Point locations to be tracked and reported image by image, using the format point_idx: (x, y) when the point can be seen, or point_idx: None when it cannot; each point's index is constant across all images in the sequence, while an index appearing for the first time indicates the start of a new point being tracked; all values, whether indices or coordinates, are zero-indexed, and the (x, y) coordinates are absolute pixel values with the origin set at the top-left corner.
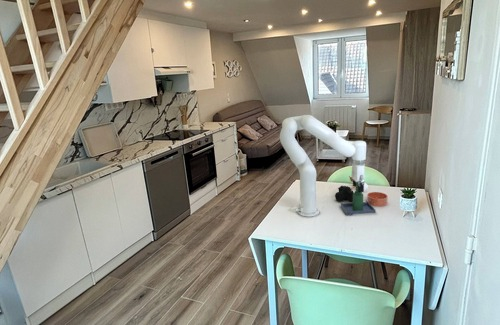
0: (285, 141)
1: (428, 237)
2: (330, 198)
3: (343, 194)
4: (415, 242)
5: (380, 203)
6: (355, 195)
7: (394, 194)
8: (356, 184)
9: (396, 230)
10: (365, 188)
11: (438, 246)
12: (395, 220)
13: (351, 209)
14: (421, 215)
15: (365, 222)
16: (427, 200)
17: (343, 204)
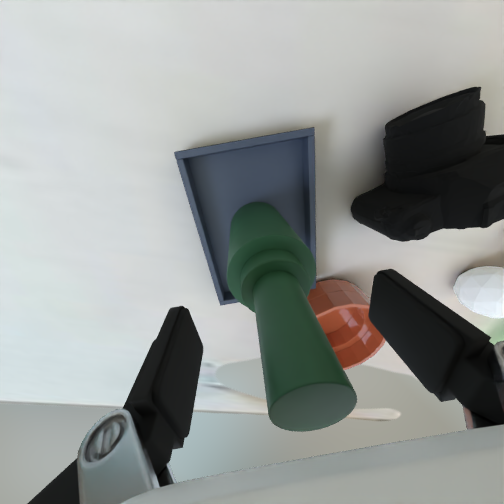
0: None
1: (71, 393)
2: (463, 64)
3: (420, 160)
4: (15, 366)
5: None
6: (241, 252)
7: (387, 364)
8: (288, 356)
9: (83, 335)
10: (467, 299)
11: (23, 402)
12: None
13: (254, 194)
14: (220, 397)
15: (116, 243)
16: None
17: (306, 148)
